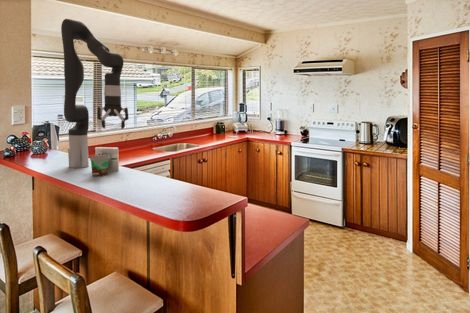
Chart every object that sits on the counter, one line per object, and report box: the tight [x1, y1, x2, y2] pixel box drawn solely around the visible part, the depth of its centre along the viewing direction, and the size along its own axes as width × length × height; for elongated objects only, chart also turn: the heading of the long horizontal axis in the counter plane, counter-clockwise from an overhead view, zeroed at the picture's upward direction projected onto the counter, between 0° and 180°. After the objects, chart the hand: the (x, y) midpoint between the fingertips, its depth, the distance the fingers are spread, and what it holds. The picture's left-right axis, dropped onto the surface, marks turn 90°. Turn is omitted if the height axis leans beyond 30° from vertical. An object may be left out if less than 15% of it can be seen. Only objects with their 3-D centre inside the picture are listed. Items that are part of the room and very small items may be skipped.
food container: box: [89, 153, 110, 177], centre depth 175 cm, size 12×6×10 cm, turn 172°
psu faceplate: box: [94, 146, 120, 172], centre depth 184 cm, size 11×2×12 cm, turn 100°
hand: (113, 128), depth 175 cm, fingers open, 8 cm apart
